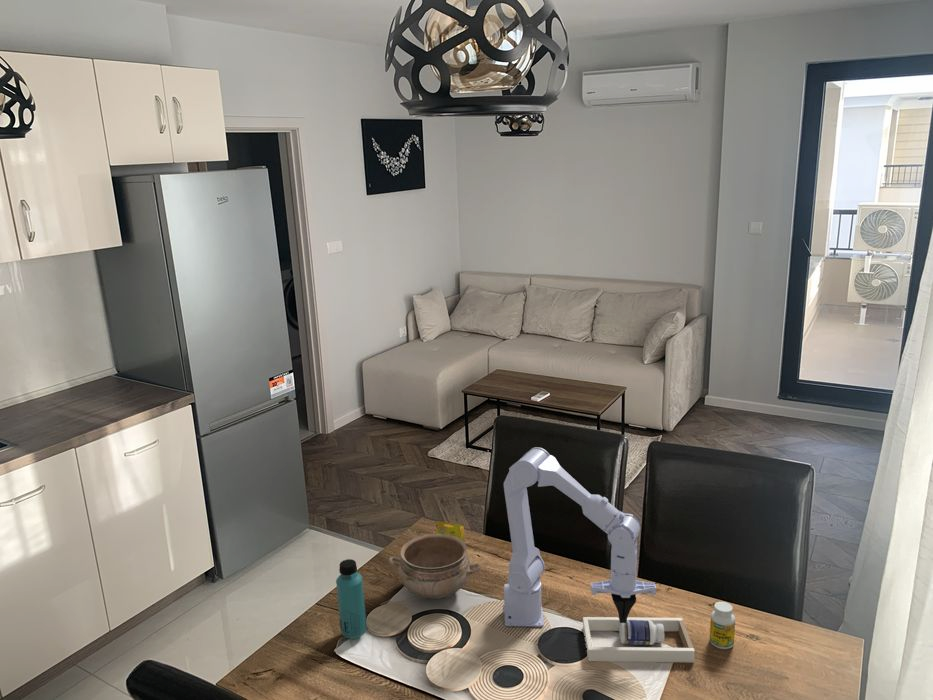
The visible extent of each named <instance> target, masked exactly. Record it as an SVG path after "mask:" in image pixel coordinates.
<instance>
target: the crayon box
mask: <svg viewBox="0 0 933 700" xmlns="http://www.w3.org/2000/svg"><path fill="white" fill-rule="evenodd" d="M436 525H437V528H436V530H437V534H447V535H452V536H455V537H457V538H459V539H461V540H462V541H463V542H464V543H465V542H466V541H465V526H463V525H461V524H459V523H453V522H445V521H439V520H437V524H436ZM465 544H466V543H465Z"/></svg>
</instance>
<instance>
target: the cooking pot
mask: <svg viewBox="0 0 933 700" xmlns="http://www.w3.org/2000/svg"><path fill="white" fill-rule="evenodd" d="M467 552H468V546H467V544H466V543H464V542H463V541H462V540H461V539H459V538H457V537H455V536H452V535H447V534H438V533H428V534H423V535H422V534H421V535H418V536H416V537H413V538H411V539H410V540H408V541H407V542H406V543H404V544H403V546H402V547H401V549H400V557H397V556H390V557H389V559H388V563H389V564H390V566H391V567H393V569H396V571H398V576H399V579H400V582H401V583H402V585H403V586H404V588H405V589H406V590H408V592H410V593H411V594H413V595H415V596H417V597H420V598H423V599H432V600H433V599H434V600H435V599H436V600H437V599H441V598H446V597H450V596H452V595H454V594H455V593H457V592H459V591H460V590H461V589H462V588H463V587H464V585H466V583H467V581H468V579H469V578H470V576H471V575H473V574H476V573H477V572H478V571H480V570H481V568H482V564H481V563H471V562H470V558H469V555H468V554H467ZM394 561H396V562H398V563H399V564H396V563H395V562H394Z"/></svg>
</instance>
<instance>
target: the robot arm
mask: <svg viewBox="0 0 933 700" xmlns="http://www.w3.org/2000/svg"><path fill="white" fill-rule="evenodd" d="M508 470H509V471H508V473H507V475H506V477H505V479H504V481H503V491H504V498H505V504H506V506H505V507H506V513H507V519H508V524H509V525H508V526H509V533H510V534H509V535H510V540H511V549H512V554H511V556H510V557H511V558H510V560H509V563H508V568H509V571H508V574H507V576H506V577H507V578H506V579H507V583H504V585H503V586H504V587H503V588H504V589H503V590H504V591H503V595H504V596H503V599H504V600H503V602H504V604H503V606H502V611H503V612H502V613H504V626H505V627H530V628H531V627H536V628H538V627H544V625H545V623H544V611H543V608H544V607H543V606H542V582H541V575H543V574H544V572H545V570H546V569H545V568H546V565H545V562H544V559H543V558H542V556H541V553H540V549H539V548H537V547H535V540H534V534H533V527H532V518H531V512H530V505H529V496H528V489H527V488H528V487H532V486H533V485H534V484H536V483H537V482H538V484H537V487H538V488H540V487H548V486H549V487H550V486H553V487H555V488H556V489H557V490H559V491H560V492H562V493H563V494H565V496H567V497H568V498H570V499H571V500H573V501H574V502H575V503H577V504H578V505H579V506H581V509H582V514H583V515H584V516H585V517H586V518H587V519H589V520H590V521H591V522H592V523H594V525H596V526H597V527H598V528H599V529H600V530H602V531H603V532H605V533H606V534H607V539H608V541H609V543H610V545H611V548H610V549H611V550H610V552H611V554H610V579H606V580H603V581H597V582H590V594H591V595H592V596H593V595H594V596H596V595H597V594H610V595H611V598H612V602H613V605H615V608H616V611H617V614H618V617H619V621H620V623H626V621H627V617H629V614H630V612H631V610H632V609H633V607H634V605H635V604H636V602H637V597H636V595H638V594H650V595H651V596H657V586H656V582H647V581H641V580H638V579H637V573H638V572H637V570H638V569H637V568H638V567H637V566H638V539H637V538H638V536H639V534H640V532H641V523H640V521H639V520H638V519H637V517H635V515H633V514H631V513H626V512H625V513H624V512H623V511H621V510H620V509H619V510H618V508H616V507H615V506H614V505H613V504H611V503H610V502H609V499H608V498H607V497H605V496H602V495H600V494H593V493H592V494H591V493H590V492H589V491H588V490H587V489H586V488H584V486H582V484H580V483H579V482H578V481H577V480H576V479H575V478H573V476H571V474H569V472H567V471H566V470H565V469H564V468H563V467H562V466H561V465H560V463H559V461H558V460H557V458H556V457H555V456H554V455H552V454H550V453H549V452H548V451H547V450H546V449H544V448H542V447H537V446H535V447H532V448H531V449H530V450H528V451H527V452H525V454H523V456H521V458H520V459H519V460H517V461H516V462H515V463H513V464H512V465H511V466H510V467H509V468H508Z"/></svg>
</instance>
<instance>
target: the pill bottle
mask: <svg viewBox="0 0 933 700" xmlns="http://www.w3.org/2000/svg"><path fill="white" fill-rule="evenodd" d="M618 632H619V640H620V643H621V644H622V645H639V646H640V645H642V646H644V645H645V646H651V645H654V643H655V642H657V643H664V642H665V631H664V627H663V624H656V625H654V624H653V622H652V621H650V620H627V621H626V623H620V622H619V631H618Z"/></svg>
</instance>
